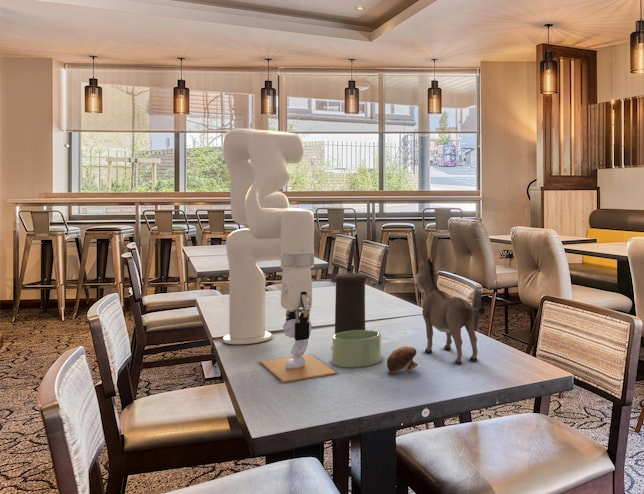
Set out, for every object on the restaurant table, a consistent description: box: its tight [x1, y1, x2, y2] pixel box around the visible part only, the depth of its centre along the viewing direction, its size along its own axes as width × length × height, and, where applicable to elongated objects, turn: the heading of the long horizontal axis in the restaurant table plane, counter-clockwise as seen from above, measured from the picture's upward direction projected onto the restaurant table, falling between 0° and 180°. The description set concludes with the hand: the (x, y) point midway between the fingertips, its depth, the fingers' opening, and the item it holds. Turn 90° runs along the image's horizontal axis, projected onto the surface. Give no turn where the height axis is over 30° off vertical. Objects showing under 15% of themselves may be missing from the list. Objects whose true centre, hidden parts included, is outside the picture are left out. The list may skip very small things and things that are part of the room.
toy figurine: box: [282, 319, 313, 369], centre depth 148 cm, size 7×6×12 cm
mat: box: [260, 353, 337, 384], centre depth 148 cm, size 20×12×1 cm, turn 34°
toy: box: [414, 235, 486, 365], centre depth 160 cm, size 8×34×30 cm, turn 36°
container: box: [333, 272, 367, 334], centre depth 169 cm, size 9×9×20 cm
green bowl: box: [332, 329, 382, 368], centre depth 154 cm, size 12×12×6 cm
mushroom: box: [386, 346, 419, 374], centre depth 144 cm, size 8×8×6 cm
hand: (297, 336), depth 148 cm, fingers closed on toy figurine, 6 cm apart
